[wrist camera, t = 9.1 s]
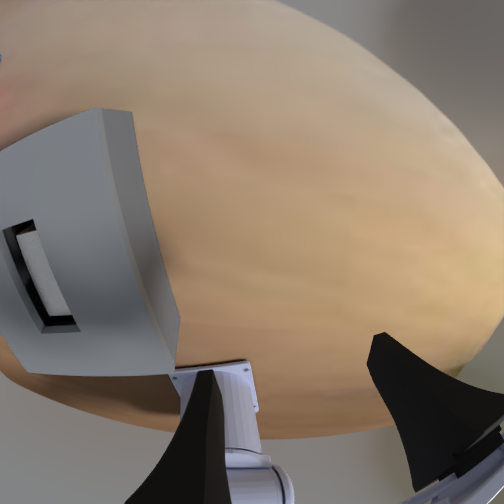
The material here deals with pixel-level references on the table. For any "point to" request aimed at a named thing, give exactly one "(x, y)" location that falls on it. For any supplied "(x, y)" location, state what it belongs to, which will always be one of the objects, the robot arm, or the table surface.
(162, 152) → the table surface
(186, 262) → the table surface
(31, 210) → the ballot box
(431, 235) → the table surface
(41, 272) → the block
